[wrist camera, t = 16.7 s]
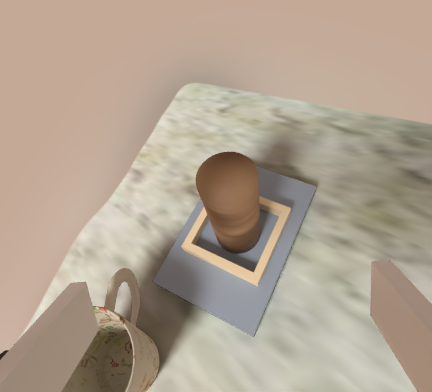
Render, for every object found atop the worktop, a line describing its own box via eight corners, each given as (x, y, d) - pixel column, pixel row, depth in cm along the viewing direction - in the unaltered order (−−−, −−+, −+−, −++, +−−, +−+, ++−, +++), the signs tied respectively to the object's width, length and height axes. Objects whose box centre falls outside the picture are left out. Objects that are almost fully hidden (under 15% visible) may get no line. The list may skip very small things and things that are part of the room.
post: (267, 221, 35) (268, 162, 25) (249, 261, 33) (242, 215, 23) (227, 206, 37) (213, 144, 26) (208, 242, 35) (184, 192, 24)
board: (314, 192, 38) (318, 180, 35) (253, 337, 31) (252, 335, 29) (227, 161, 42) (224, 148, 39) (156, 284, 35) (147, 278, 32)
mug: (84, 411, 30) (11, 431, 21) (107, 280, 36) (57, 255, 27) (167, 414, 29) (125, 438, 20) (177, 280, 35) (148, 253, 26)
